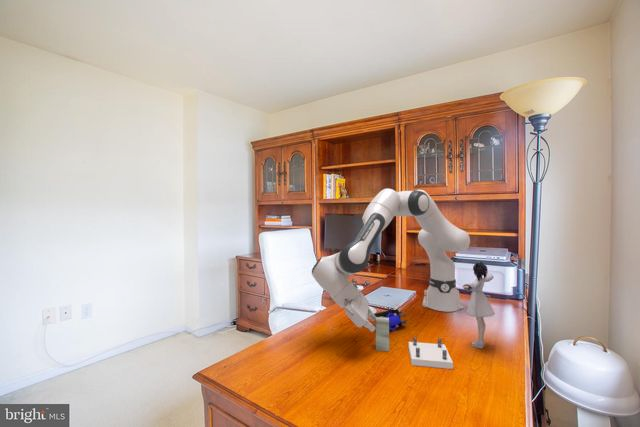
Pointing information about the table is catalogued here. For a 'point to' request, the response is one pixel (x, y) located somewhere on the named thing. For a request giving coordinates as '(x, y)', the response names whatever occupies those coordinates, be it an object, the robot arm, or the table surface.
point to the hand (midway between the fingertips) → (374, 324)
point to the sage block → (382, 334)
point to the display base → (430, 354)
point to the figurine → (479, 301)
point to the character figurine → (392, 318)
